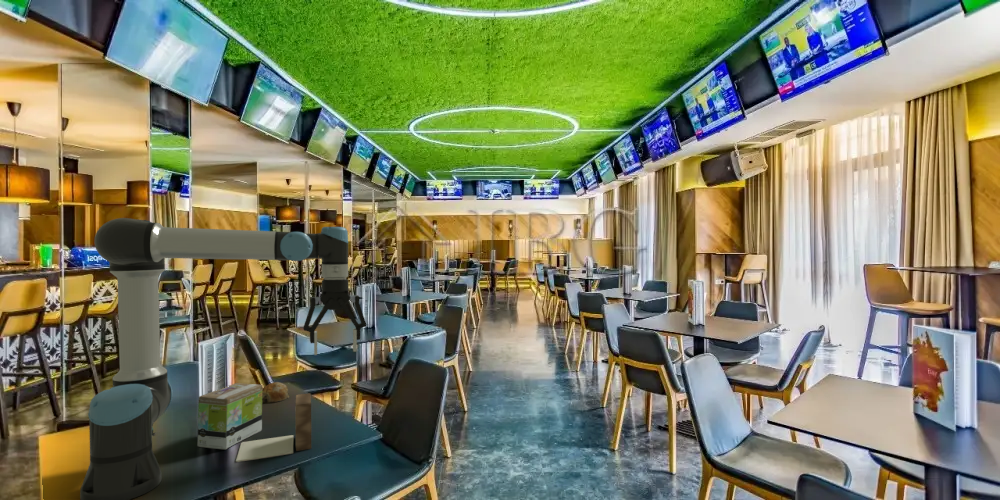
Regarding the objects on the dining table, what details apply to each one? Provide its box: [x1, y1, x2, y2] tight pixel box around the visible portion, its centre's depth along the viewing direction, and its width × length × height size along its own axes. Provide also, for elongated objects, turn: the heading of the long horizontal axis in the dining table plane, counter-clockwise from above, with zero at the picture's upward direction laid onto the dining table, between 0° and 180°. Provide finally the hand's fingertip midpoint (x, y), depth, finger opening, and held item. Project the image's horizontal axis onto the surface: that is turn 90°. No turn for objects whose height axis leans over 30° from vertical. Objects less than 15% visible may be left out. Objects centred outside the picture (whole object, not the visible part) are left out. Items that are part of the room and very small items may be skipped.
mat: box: [235, 434, 295, 463], centre depth 137 cm, size 14×13×1 cm
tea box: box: [197, 382, 263, 450], centre depth 144 cm, size 15×10×15 cm, turn 168°
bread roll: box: [262, 381, 290, 404], centre depth 181 cm, size 10×10×8 cm
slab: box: [294, 392, 312, 452], centre depth 141 cm, size 4×10×13 cm, turn 22°
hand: (335, 352), depth 144 cm, fingers open, 10 cm apart
